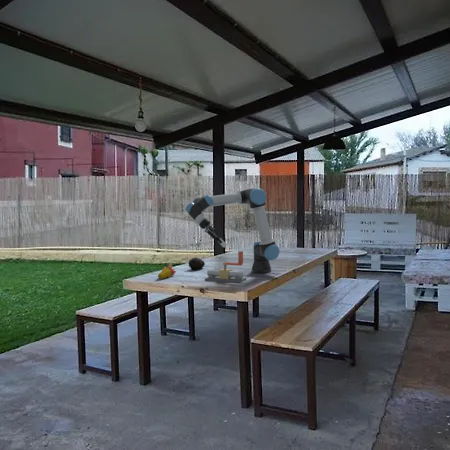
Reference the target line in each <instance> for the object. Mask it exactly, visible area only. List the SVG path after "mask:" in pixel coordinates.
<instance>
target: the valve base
mask: <svg viewBox="0 0 450 450" xmlns="http://www.w3.org/2000/svg"><path fill="white" fill-rule="evenodd" d="M227 266H228V265H223V268H221V269H219V270H213V269H211V270H210V269H209V270H207V272H206V274H207V276H208V277H204V281H205V282H218V283H219V282H220V283H233V284H235V283H237V284H241V283H243V282H245V281H247V277H245V273H244V271H236V270H235V271H232V269H231V268H228V267H227Z"/></svg>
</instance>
